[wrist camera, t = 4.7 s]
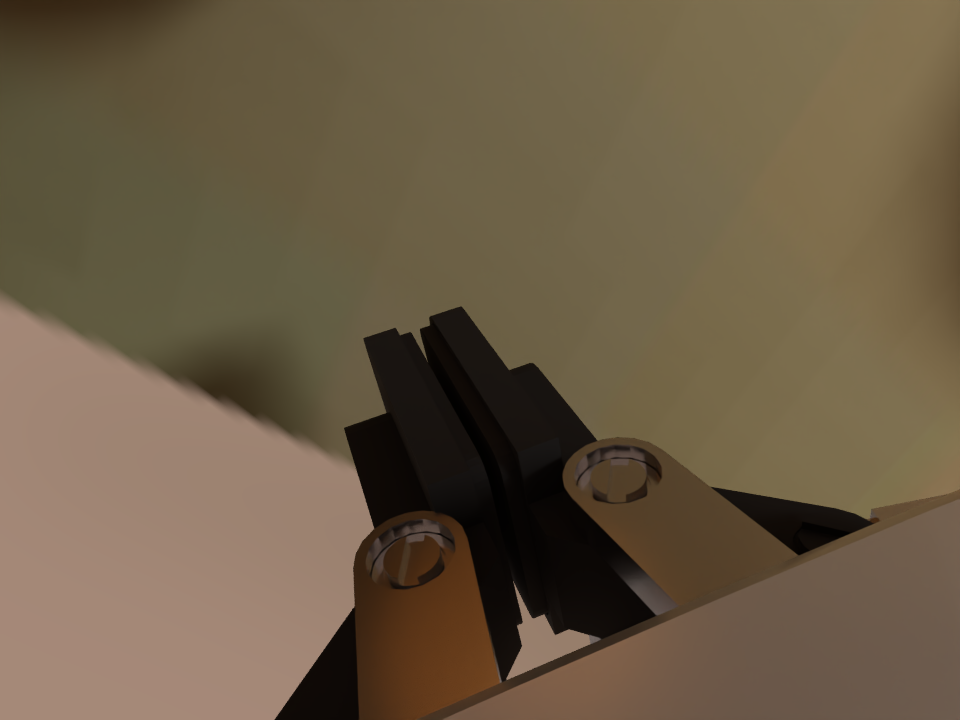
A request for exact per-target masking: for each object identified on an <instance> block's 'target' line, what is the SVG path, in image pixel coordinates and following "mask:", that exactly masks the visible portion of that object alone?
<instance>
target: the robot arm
mask: <svg viewBox="0 0 960 720" xmlns="http://www.w3.org/2000/svg"><path fill="white" fill-rule="evenodd" d="M429 320H430V326H427V327H424V328H421V329H420V333H421V337H422V341H423V345H424V349H425V353H426V356H427V360H428V362H427V360H426V358H425V356H424V355H423V353H422V351H421V349H420V347H419V346H418V344H417V342H416V340H415V338H414V337H413V335H412V333H411V332H409V333H406V334H403V335H399V333H398V331H397V329H396V328H393V329H390V330H387V331H384V332H381V333H378V334H375V335H372V336H369V337H366V338H364V342H365V346H366V349H367V352H368V356H369V359H370V362H371V365H372V368H373V371H374V374H375V378H376V381H377V384H378V387H379V390H380V393H381V397H382V400H383V403H384V406H385V409H386V412H387V413H385V414H382V415H380V416H377V417H374V418H371V419H368V420H365V421H362V422H360V423H357V424H354V425H351V426H348V427H345V428H344V430H345V433H346V437H347V440H348V443H349V447H350V450H351V453H352V456H353V460H354V463H355V466H356V470H357V473H358V476H359V479H360V483H361V486H362V489H363V493H364V496H365V499H366V503H367V506H368V509H369V512H370V516H371V519H372V522H373V526H374V530H373V531H372V532H371V533H370V534H369V535H368V536H367V537H366V538H365V539H364V540H363V541H362V543H361V545H360V547H359V549H358V551H357V552H356V556H355V561H354V567H353V572H354V597H355V607H354V608H353V609H352V611H351V612H350V614H349V615H348V617H347V618H346V620H345V621H344V622H343V624H342V625H341V626H340V628H339V629H338V631H337V632H336V634H335V635H334V636H333V638H332V639H331V641H330V642H329V643H328V645H327V646H326V648H325V649H324V650H323V652H322V653H321V655H320V656H319V657H318V659H317V660H316V662H315V663H314V665H313V666H312V668H311V669H310V670H309V672H308V673H307V674H306V676H305V678H304V679H303V680H302V682H301V683H300V684H299V686H298V687H297V689H296V690H295V692H294V693H293V694H292V696H291V697H290V699H289V700H288V701H287V703H286V704H285V706H284V707H283V709H282V710H281V711H280V713H279V714H278V716H277V717H276V719H275V720H960V490H957V491H955V492H952V493H950V494H946V495H941V496H936V497H931V498H926V499H921V500H916V501H910V502H905V503H900V504H895V505H890V506H885V507H880V508H875V509H871V515H870V519H864V518H862V517H860V516H858V515H856V514H854V513H850V512H847V511H843V510H839V509H836V508H830V507H824V506H819V505H813V504H807V503H801V502H795V501H790V500H784V499H778V498H772V497H766V496H761V495H755V494H749V493H743V492H738V491H732V490H726V489H720V488H714V487H710V486H708V485H707V484H706V483H705V482H703V481H702V480H701V479H699V478H698V477H697V476H696V475H694V474H693V473H692V472H690V471H689V470H688V469H687V468H685V467H684V466H683V465H681V464H680V463H679V462H678V461H676V460H675V459H674V458H672V457H671V456H670V455H669V454H667V453H666V452H665V451H663V450H662V449H660V448H659V447H657V446H655V445H653V444H652V443H650V442H647V441H643V440H639V439H636V438H623V437H616V438H609V439H602V440H599V441H597V440H596V438H595V437H594V436H593V435H592V433H591V432H590V431H589V430H588V429H587V427H586V426H585V425H584V424H583V422H582V421H581V420H580V419H579V417H578V416H577V415H576V414H575V413H574V411H573V410H572V409H571V408H570V406H569V405H568V404H567V403H566V402H565V400H564V399H563V398H562V397H561V395H560V394H559V393H558V392H557V390H556V389H555V388H554V387H553V386H552V384H551V383H550V382H549V381H548V379H547V378H546V377H545V376H544V375H543V373H542V372H541V371H540V370H539V368H538V367H537V366H536V365H535V364H534V363H529V364H526V365H523V366H520V367H517V368H514V369H512V370H508V368H507V367H506V365H505V364H504V363H503V361H502V360H501V359H500V357H499V356H498V355H497V353H496V352H495V351H494V349H493V348H492V347H491V345H490V344H489V343H488V341H487V340H486V338H485V337H484V336H483V334H482V333H481V332H480V330H479V329H478V328H477V326H476V325H475V324H474V322H473V321H472V320H471V318H470V317H469V316H468V314H467V313H466V311H465V310H464V309H463V308H462V307H457V308H454V309H451V310H448V311H445V312H442V313H439V314H436V315H433V316H430V317H429ZM513 581H514V583H515V585H516V587H517V589H518V591H519V593H520V595H521V597H522V599H523V601H524V603H525V605H526V607H527V609H528V611H529V613H530V615H531V617H532V618H536V617H538V616H541V615H543V614H545V616H546V618H547V620H548V622H549V624H550V626H551V628H552V630H553V632H554V634H555V635H556V634H559V633H561V632H563V631H566V630H568V629H570V630H574V631H577V632H581V633H584V634H588V635H589V637H590V643H591V644H590V645H588V646H585V647H583V648H581V649H578V650H576V651H574V652H572V653H569V654H567V655H564V656H562V657H560V658H557V659H555V660H553V661H550V662H548V663H546V664H543V665H541V666H539V667H537V668H534V669H532V670H529V671H527V672H525V673H523V674H520V675H518V676H515V677H513V678H511V679H509V680H506V678H507V676H508V674H509V672H510V670H511V668H512V665H513V664H514V661H515V659H516V657H517V655H518V653H519V651H520V649H521V647H522V645H521V640H520V636H519V632H518V628H517V625H519V624H522V622H523V621H522V616H521V612H520V608H519V604H518V600H517V596H516V592H515V587H514V583H513Z"/></svg>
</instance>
